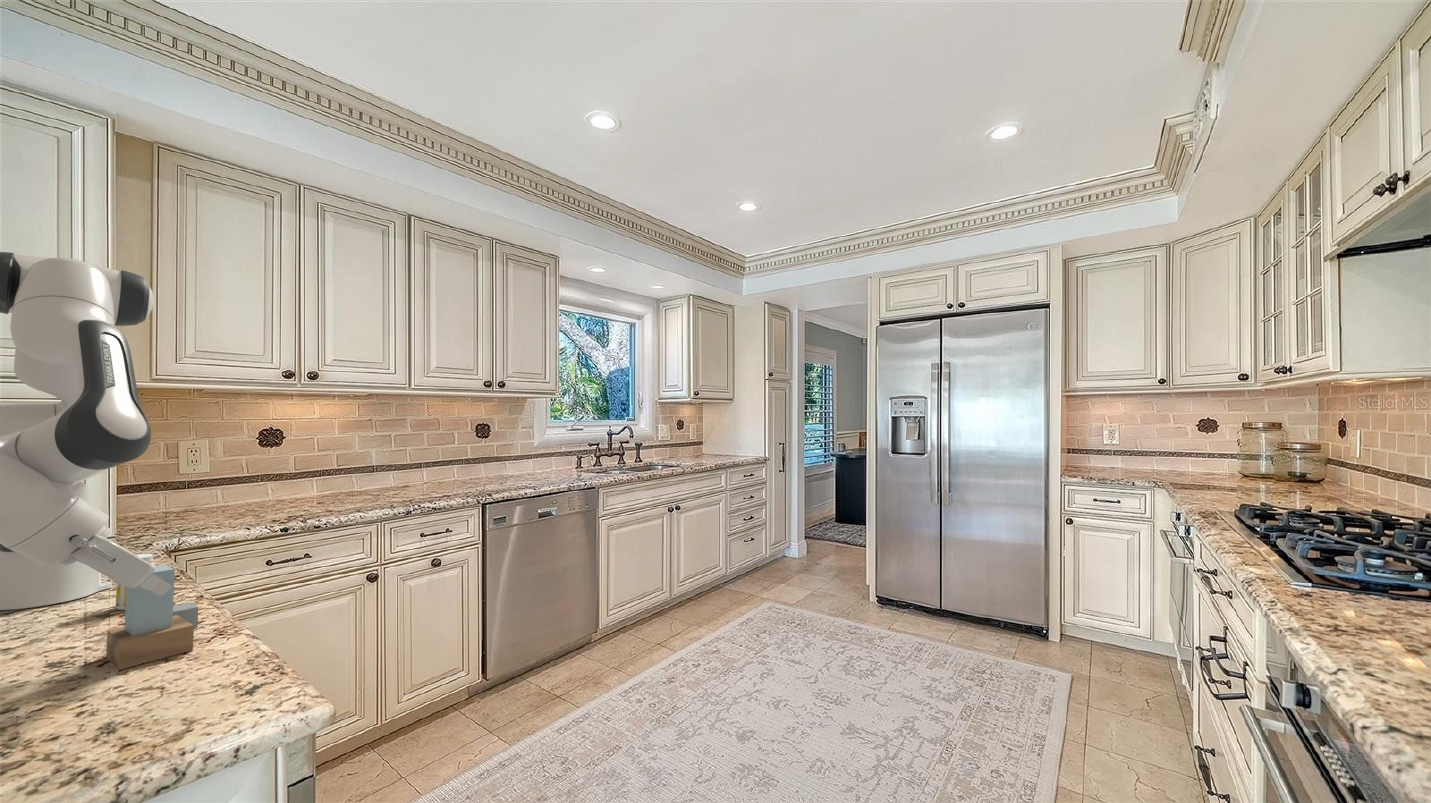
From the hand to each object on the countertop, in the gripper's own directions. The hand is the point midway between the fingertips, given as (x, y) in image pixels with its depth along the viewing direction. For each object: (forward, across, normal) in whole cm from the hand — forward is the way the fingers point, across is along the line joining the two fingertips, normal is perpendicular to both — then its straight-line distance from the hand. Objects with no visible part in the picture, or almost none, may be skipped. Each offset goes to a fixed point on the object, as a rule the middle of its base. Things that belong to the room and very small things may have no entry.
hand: (156, 585), depth 88 cm
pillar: (+4, 0, +5) cm, 6 cm away
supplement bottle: (+11, +32, +4) cm, 34 cm away
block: (+11, +9, +4) cm, 15 cm away
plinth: (+7, 0, +8) cm, 10 cm away
